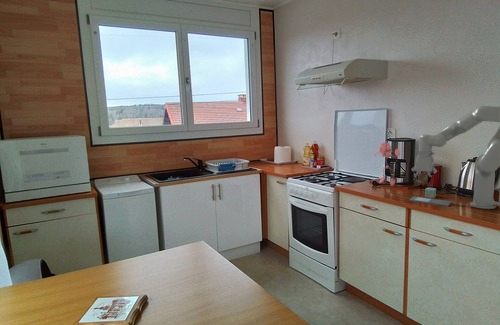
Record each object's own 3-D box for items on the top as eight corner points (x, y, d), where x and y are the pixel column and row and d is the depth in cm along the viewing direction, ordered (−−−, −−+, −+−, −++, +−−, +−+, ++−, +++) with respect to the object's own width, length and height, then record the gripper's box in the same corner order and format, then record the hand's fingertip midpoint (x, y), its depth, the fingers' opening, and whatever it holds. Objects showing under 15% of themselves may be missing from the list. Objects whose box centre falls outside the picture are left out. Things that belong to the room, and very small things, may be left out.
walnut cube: (429, 182, 207) (429, 174, 206) (426, 183, 202) (427, 175, 202) (419, 181, 210) (420, 173, 209) (417, 182, 206) (417, 174, 205)
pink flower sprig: (379, 181, 271) (379, 140, 265) (404, 187, 247) (405, 142, 242) (365, 183, 265) (365, 141, 260) (389, 190, 241) (390, 144, 236)
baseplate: (451, 202, 202) (451, 201, 202) (447, 206, 194) (447, 204, 194) (413, 197, 216) (413, 196, 216) (409, 201, 209) (409, 199, 209)
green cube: (435, 196, 219) (436, 188, 218) (433, 198, 214) (434, 190, 214) (426, 195, 222) (427, 187, 221) (424, 196, 218) (425, 189, 217)
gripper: (441, 154, 201) (439, 182, 203) (412, 152, 212) (410, 179, 215) (438, 155, 195) (436, 184, 198) (408, 153, 206) (407, 181, 209)
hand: (423, 181), depth 206 cm, fingers closed on walnut cube, 5 cm apart
